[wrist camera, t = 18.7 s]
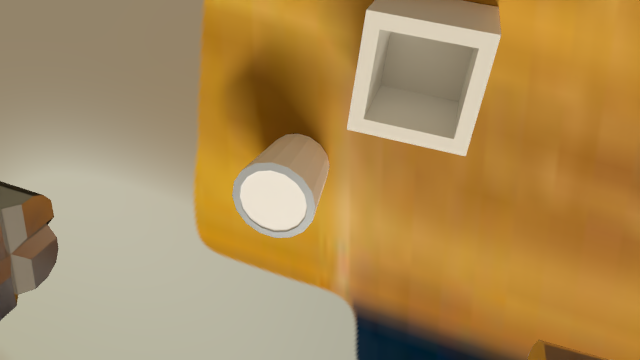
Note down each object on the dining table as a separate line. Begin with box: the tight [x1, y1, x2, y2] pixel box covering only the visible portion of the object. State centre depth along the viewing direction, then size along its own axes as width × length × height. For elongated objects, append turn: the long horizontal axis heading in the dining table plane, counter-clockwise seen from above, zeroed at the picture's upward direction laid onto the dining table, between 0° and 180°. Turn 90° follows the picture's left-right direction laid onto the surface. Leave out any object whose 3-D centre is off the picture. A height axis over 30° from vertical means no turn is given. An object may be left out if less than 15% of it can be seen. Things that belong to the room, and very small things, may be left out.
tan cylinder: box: [232, 134, 330, 238], centre depth 46 cm, size 7×7×7 cm
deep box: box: [347, 0, 501, 156], centre depth 38 cm, size 8×8×8 cm
